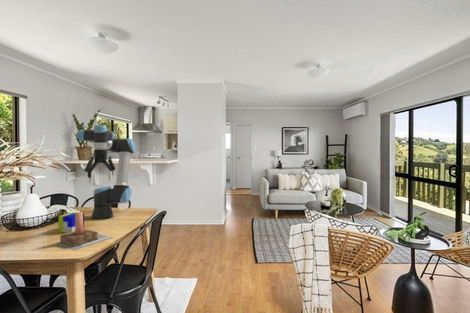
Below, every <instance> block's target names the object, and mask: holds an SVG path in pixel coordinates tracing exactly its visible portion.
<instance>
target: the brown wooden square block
mask: <svg viewBox="0 0 470 313" xmlns="http://www.w3.org/2000/svg"><path fill="white" fill-rule="evenodd" d="M97 234H98V231H95V230H94V231H93V230H91V229H86V228H83V234H82V235H79V236H76V235H75V231H73V232H66V233H64V234H59V236H60V237H59V238H60V241H59V242H60V243H61V244H65V245H68V246H72V247H77V246H80V245H83V244H86V243H89V242H92V241H95V240H98V239H97Z"/></svg>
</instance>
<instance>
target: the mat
mask: <svg viewBox="0 0 470 313" xmlns="http://www.w3.org/2000/svg"><path fill="white" fill-rule="evenodd" d="M105 237H109V238H106V239H103V240H100V241H97V242H94V243H91V244H88V245H85V246H81V245H80V246H77V247H72V246H68V245H65V244H61V243H60V241H59V242H54V243H53V245H54V246H59V247H62V248H66V249H69V250H72V251H78V250H80V249H83V248H86V247H90V246H92V245H95V244H98V243H101V242H104V241H107V240H110V239H112V238H113V237H112V236H109V235H108V236H107V235H104V234H98V233H97V239H98V240H99V239H102V238H105ZM95 241H96V240H95ZM92 242H93V241H92ZM89 243H90V242H89ZM86 244H87V243H86ZM83 245H84V244H83Z"/></svg>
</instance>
